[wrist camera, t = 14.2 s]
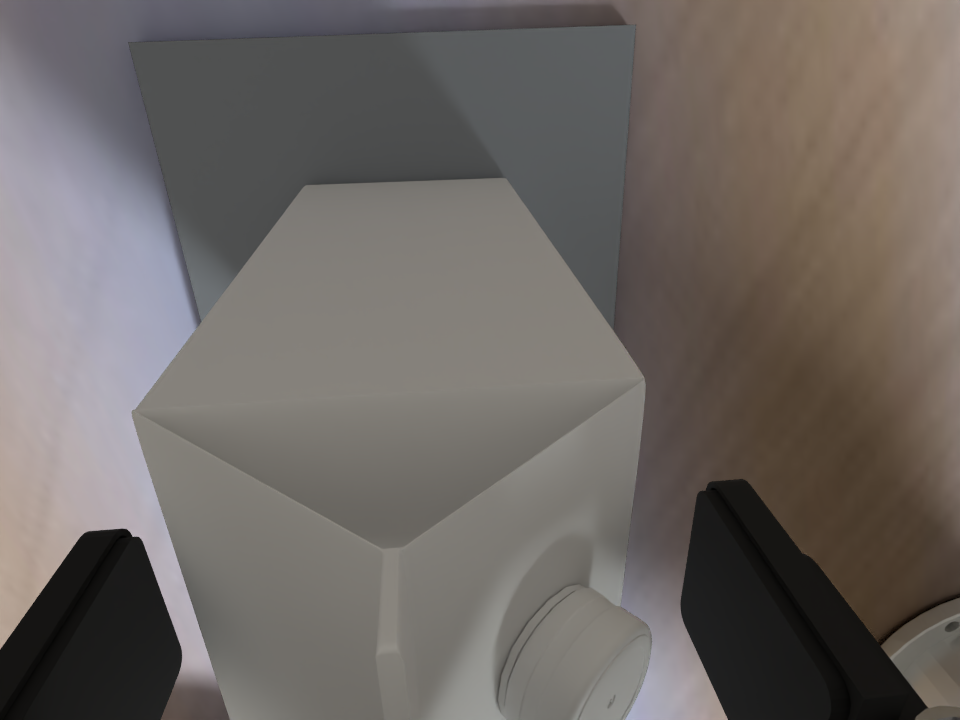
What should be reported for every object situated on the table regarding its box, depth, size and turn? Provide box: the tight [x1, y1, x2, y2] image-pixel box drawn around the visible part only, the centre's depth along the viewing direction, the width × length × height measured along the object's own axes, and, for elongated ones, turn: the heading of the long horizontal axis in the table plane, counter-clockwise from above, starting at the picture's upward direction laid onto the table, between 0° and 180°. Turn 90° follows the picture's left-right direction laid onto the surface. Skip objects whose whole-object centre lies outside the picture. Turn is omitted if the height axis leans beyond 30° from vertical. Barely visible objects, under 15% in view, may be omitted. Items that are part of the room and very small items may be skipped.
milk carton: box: [132, 178, 652, 720], centre depth 15 cm, size 7×7×19 cm
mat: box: [128, 25, 636, 330], centre depth 24 cm, size 16×16×1 cm
